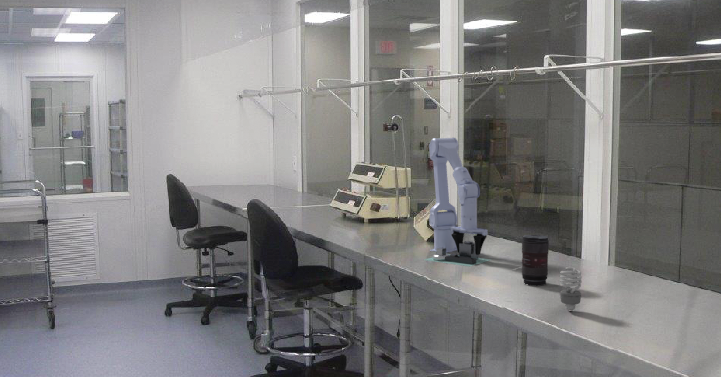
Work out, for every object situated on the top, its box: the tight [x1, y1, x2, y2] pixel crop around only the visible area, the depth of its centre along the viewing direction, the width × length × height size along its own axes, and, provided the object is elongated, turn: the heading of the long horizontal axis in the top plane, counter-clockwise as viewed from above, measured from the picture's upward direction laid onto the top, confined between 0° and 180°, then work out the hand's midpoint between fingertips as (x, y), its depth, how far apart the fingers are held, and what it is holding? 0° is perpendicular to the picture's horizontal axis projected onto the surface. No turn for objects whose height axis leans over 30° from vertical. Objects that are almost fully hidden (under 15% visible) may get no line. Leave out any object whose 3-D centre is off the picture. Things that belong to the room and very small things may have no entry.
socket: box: [458, 240, 479, 260], centre depth 273 cm, size 5×5×7 cm
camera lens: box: [521, 234, 550, 287], centre depth 233 cm, size 8×8×15 cm
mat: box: [423, 253, 491, 268], centre depth 273 cm, size 15×20×1 cm
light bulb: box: [559, 266, 583, 311], centre depth 201 cm, size 6×6×12 cm
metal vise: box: [432, 247, 477, 265], centre depth 270 cm, size 17×6×4 cm, turn 49°
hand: (468, 253), depth 273 cm, fingers open, 7 cm apart
